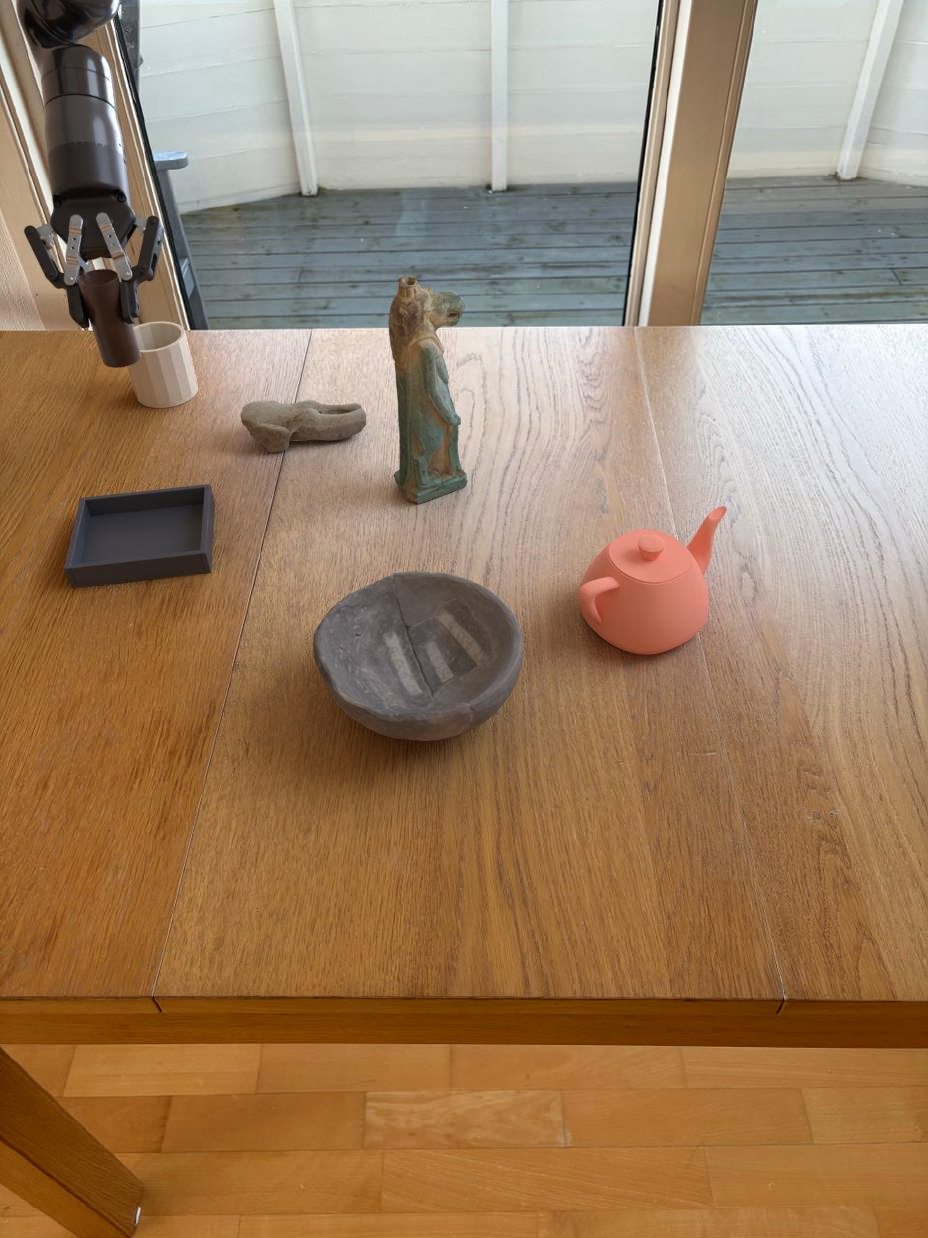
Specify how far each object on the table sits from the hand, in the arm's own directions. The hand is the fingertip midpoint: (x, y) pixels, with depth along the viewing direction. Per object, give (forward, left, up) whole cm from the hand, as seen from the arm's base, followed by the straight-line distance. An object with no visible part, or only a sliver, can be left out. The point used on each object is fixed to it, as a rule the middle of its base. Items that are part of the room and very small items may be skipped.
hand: (106, 322), depth 97 cm
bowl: (+27, -38, -20) cm, 51 cm away
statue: (+32, -6, -20) cm, 38 cm away
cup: (0, +21, -20) cm, 29 cm away
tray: (0, -11, -20) cm, 23 cm away
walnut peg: (0, +2, -5) cm, 5 cm away
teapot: (+50, -31, -20) cm, 62 cm away
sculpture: (+18, +7, -20) cm, 28 cm away
